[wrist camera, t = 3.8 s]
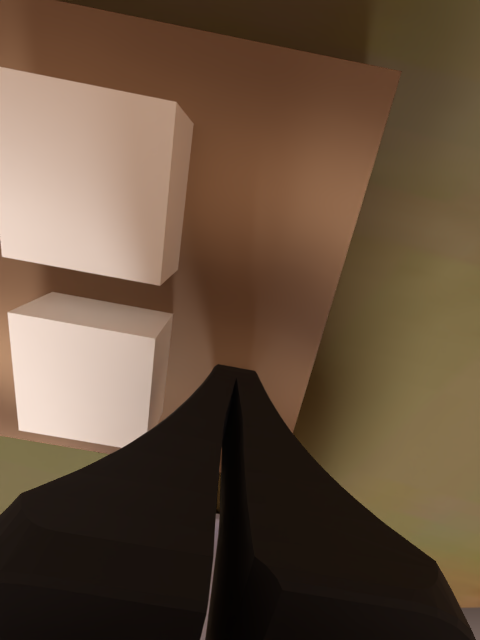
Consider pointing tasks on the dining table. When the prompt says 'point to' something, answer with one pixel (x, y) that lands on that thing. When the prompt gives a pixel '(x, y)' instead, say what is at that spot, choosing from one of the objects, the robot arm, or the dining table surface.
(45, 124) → the tile
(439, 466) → the dining table surface
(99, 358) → the tile
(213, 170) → the board
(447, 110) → the dining table surface
